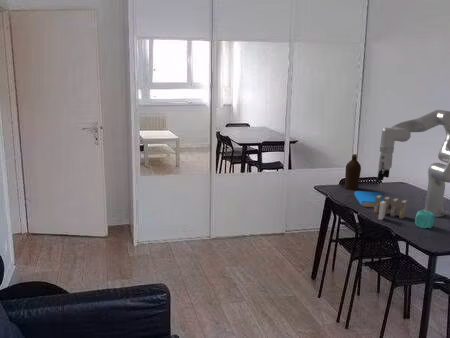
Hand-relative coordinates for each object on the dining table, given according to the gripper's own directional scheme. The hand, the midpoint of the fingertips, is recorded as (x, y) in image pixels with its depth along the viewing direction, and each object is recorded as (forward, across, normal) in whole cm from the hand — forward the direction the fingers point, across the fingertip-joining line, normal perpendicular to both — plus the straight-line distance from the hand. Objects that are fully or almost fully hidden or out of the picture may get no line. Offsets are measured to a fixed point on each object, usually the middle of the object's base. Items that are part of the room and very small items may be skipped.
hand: (383, 178), depth 271 cm
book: (+24, +28, +15) cm, 40 cm away
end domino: (+23, -2, -2) cm, 24 cm away
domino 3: (+23, +9, -6) cm, 26 cm away
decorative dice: (+23, +1, -26) cm, 35 cm away
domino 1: (+23, +8, +4) cm, 25 cm away
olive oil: (+23, +51, +37) cm, 67 cm away
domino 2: (+23, +8, -1) cm, 25 cm away
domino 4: (+23, +9, -11) cm, 27 cm away
